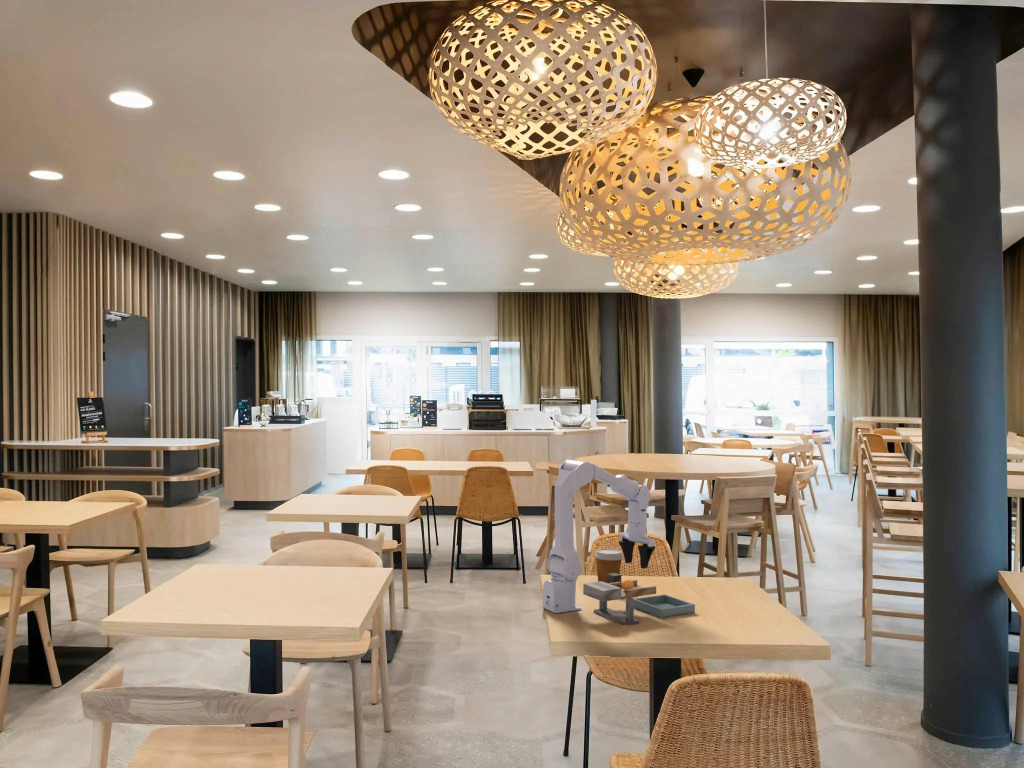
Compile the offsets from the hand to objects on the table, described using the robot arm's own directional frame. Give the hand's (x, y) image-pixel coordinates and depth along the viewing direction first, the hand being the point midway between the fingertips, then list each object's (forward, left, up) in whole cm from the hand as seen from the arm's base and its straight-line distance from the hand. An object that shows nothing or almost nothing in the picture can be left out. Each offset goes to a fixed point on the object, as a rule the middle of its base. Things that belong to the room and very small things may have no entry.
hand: (636, 565), depth 249 cm
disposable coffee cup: (0, +14, -10) cm, 17 cm away
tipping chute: (-19, -11, -4) cm, 22 cm away
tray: (-2, -15, -10) cm, 18 cm away
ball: (-16, -15, -1) cm, 22 cm away
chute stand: (-20, -15, -10) cm, 27 cm away
